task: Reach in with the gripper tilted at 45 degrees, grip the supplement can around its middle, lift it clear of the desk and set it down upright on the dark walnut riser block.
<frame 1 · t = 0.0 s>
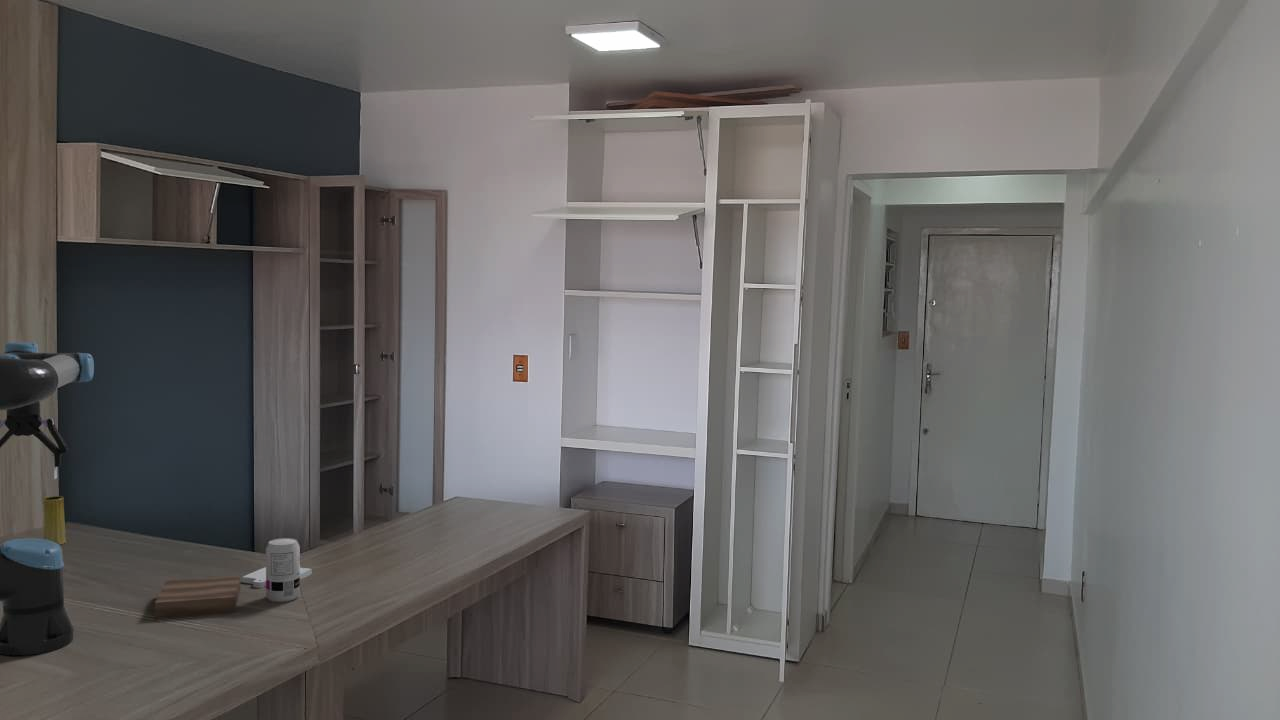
hand: (25, 479, 260), 28 cm above the table, tool pointing down, fingers open, 13 cm apart
mounting plate: (277, 580, 271), on the table
vase: (54, 544, 299), on the table
walnut riser: (199, 603, 249), on the table
supplement can: (283, 598, 255), on the table
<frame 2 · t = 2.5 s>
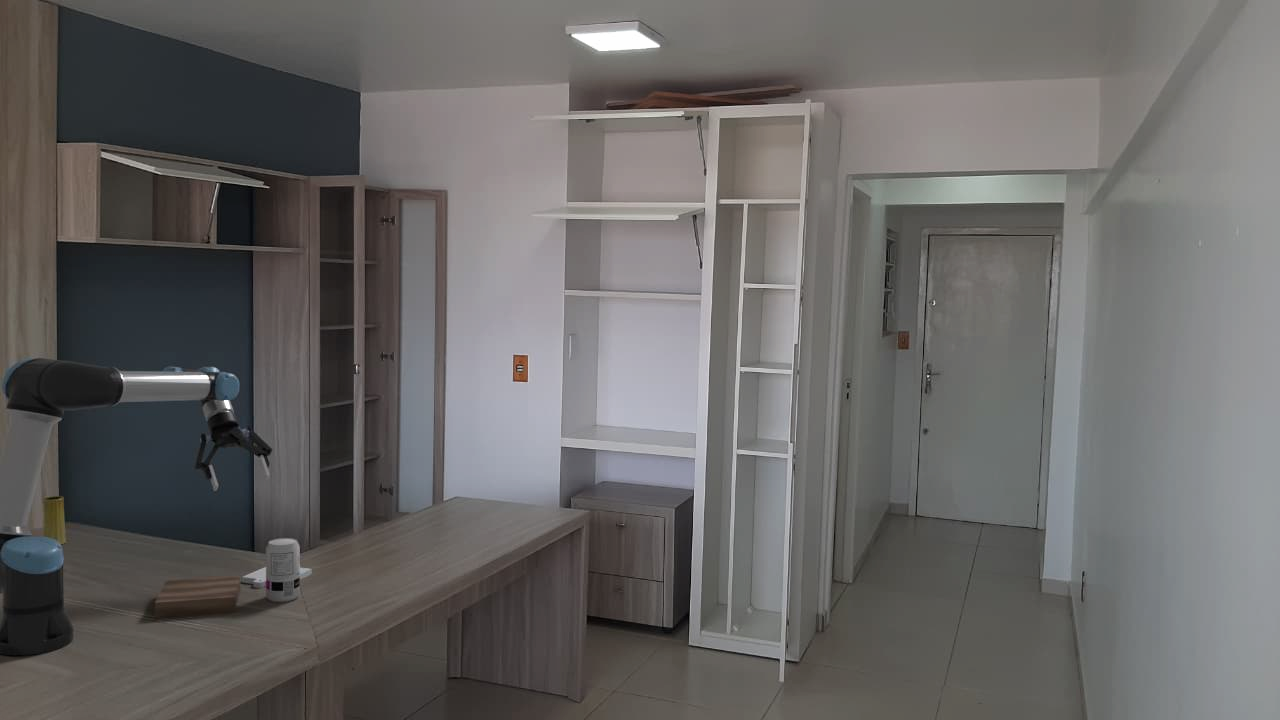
hand: (242, 483, 265), 27 cm above the table, tool tilted 40°, fingers open, 13 cm apart
nothing on the table moved.
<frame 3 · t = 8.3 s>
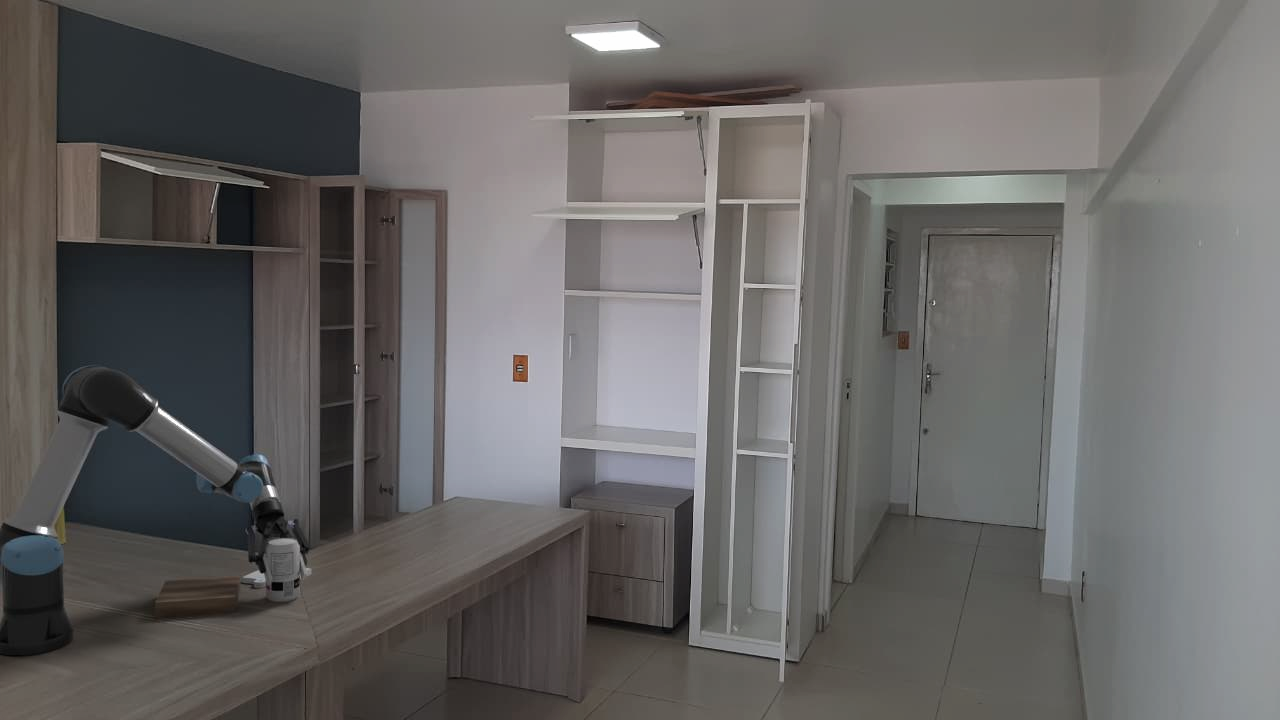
hand: (287, 579, 252), 6 cm above the table, tool tilted 45°, fingers closed on supplement can, 8 cm apart
supplement can: (283, 598, 255), on the table, touching gripper
everything else where it was.
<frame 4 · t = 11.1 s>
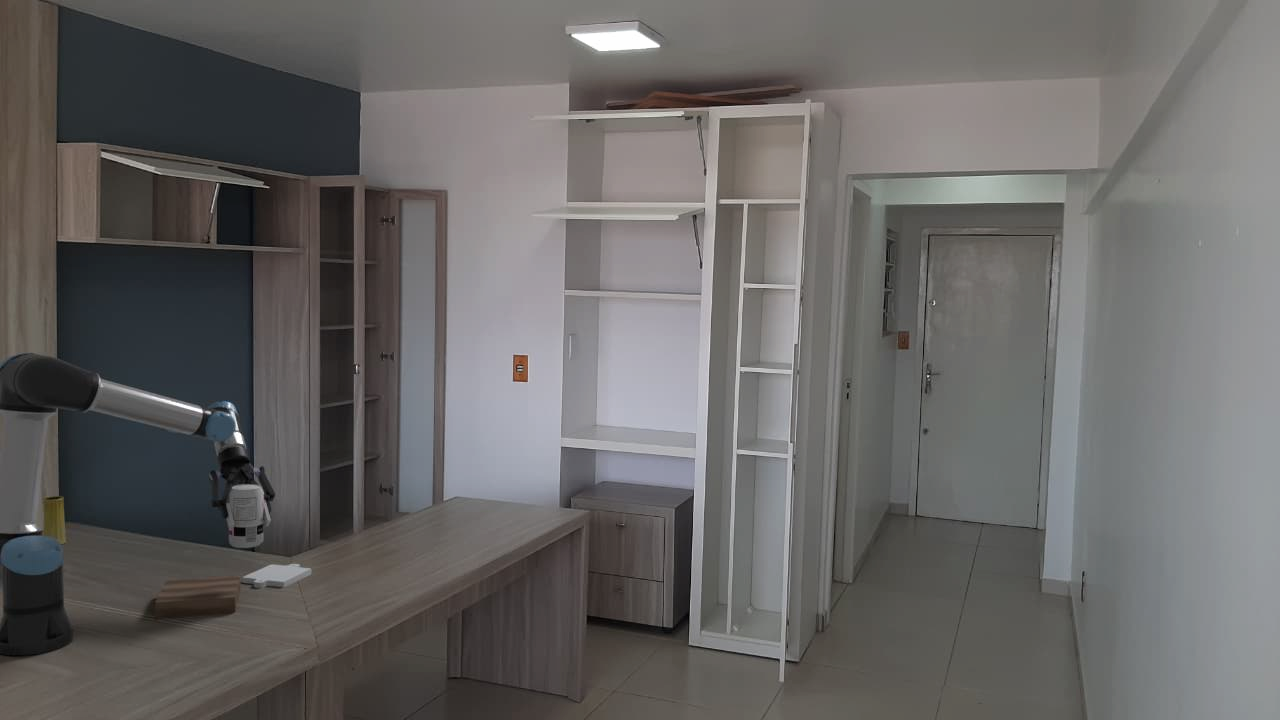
hand: (250, 525, 248), 20 cm above the table, tool tilted 45°, fingers closed on supplement can, 8 cm apart
supplement can: (246, 545, 251), point 14 cm above the table, touching gripper
everything else where it was.
when the fingers open (11 cm above the table, at t = 14.0 s): supplement can drops 1 cm, resting on walnut riser.
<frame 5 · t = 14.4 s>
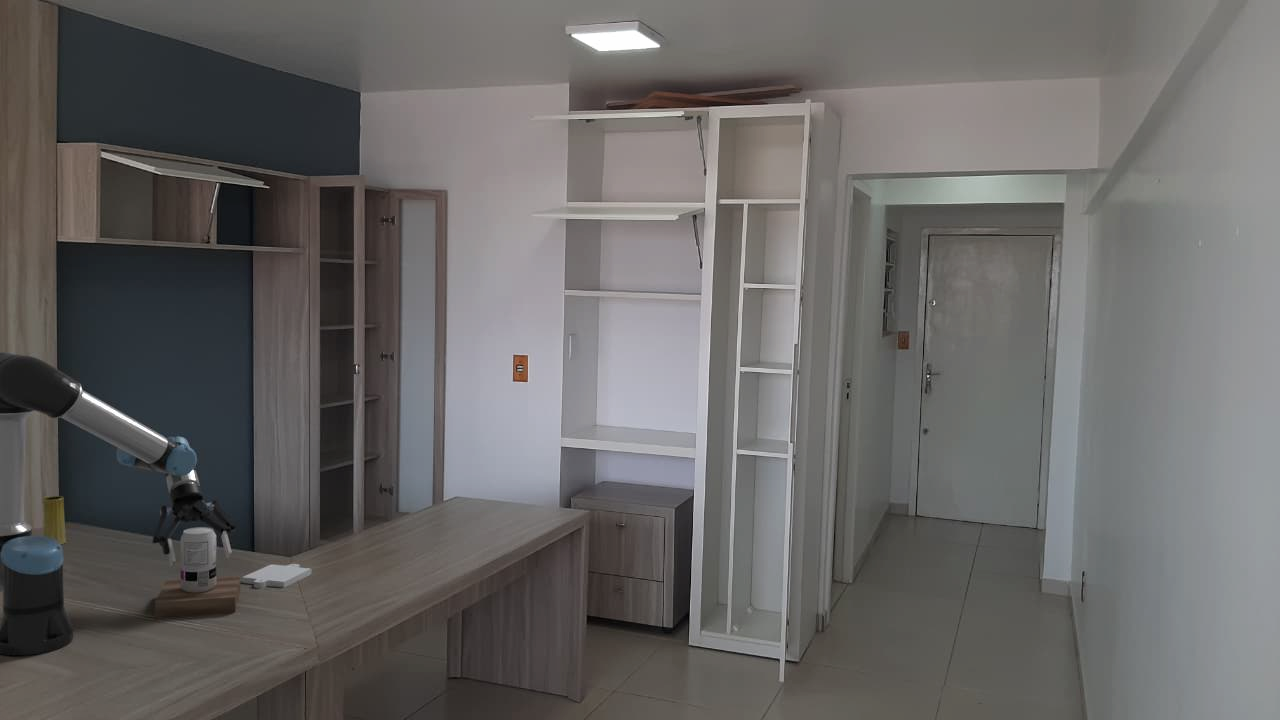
hand: (201, 559, 246), 12 cm above the table, tool tilted 45°, fingers open, 13 cm apart
supplement can: (198, 589, 248), point 4 cm above the table, touching walnut riser
everything else where it was.
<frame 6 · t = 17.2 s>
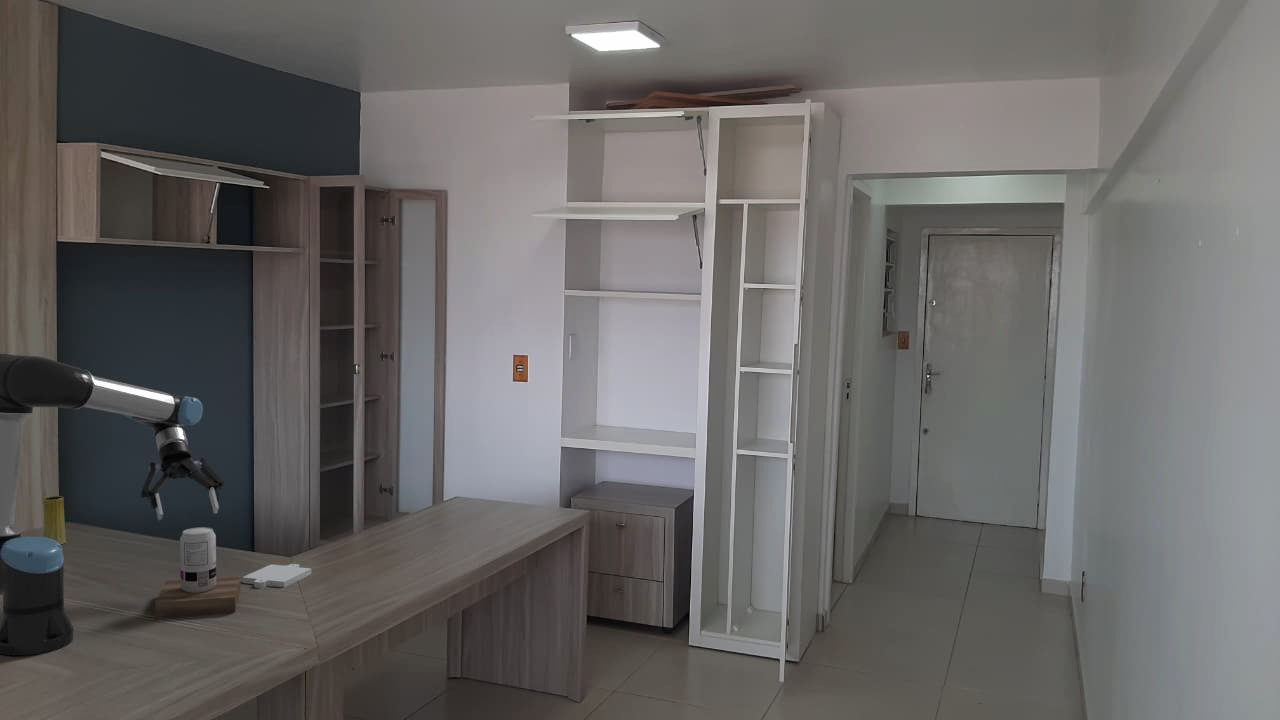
hand: (189, 514, 254), 21 cm above the table, tool tilted 45°, fingers open, 13 cm apart
nothing on the table moved.
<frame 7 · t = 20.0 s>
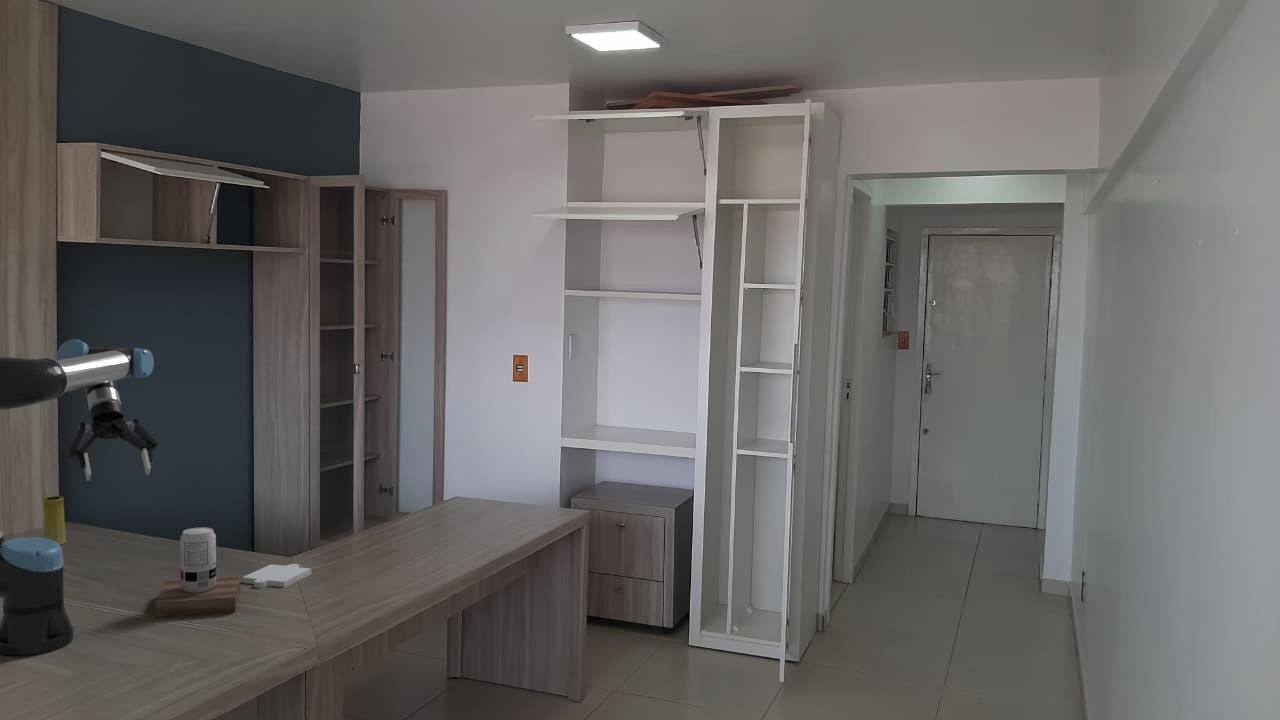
hand: (119, 474, 247), 33 cm above the table, tool tilted 45°, fingers open, 13 cm apart
nothing on the table moved.
at the end: supplement can inside the target area on the walnut riser (0.2 cm from its centre), point 3.8 cm above the walnut riser's base; supplement can tilted 0°; the gripper is holding nothing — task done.
